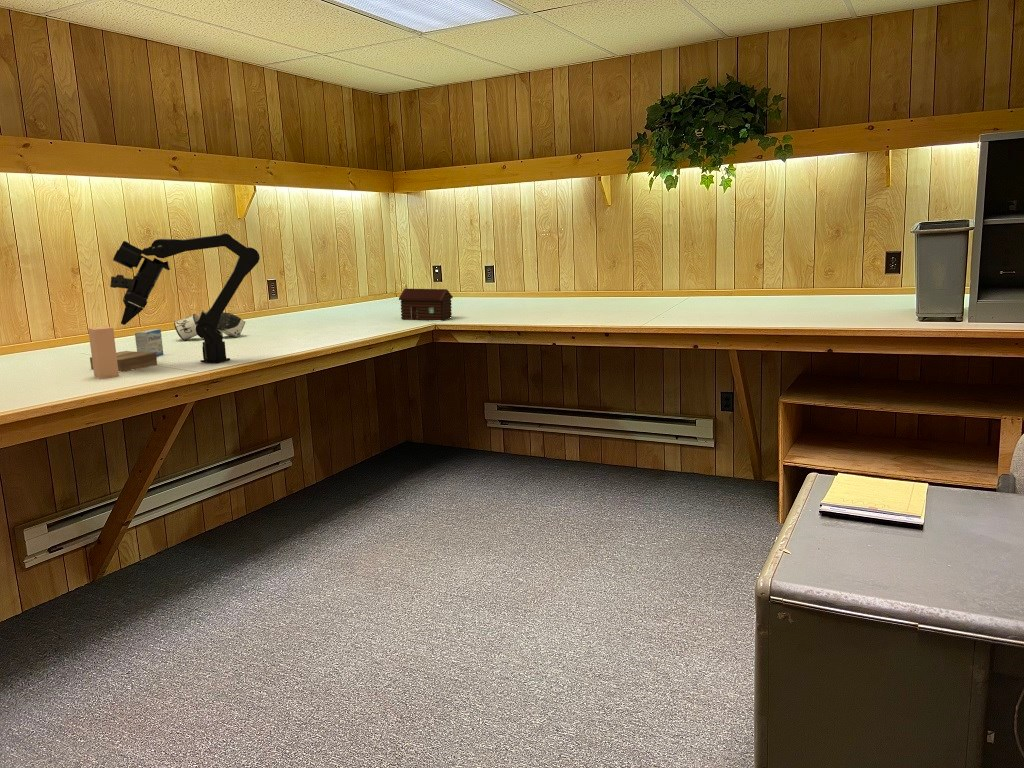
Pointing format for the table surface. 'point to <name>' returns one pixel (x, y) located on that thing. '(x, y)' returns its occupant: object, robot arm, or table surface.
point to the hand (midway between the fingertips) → (123, 322)
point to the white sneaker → (226, 325)
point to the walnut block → (133, 360)
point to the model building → (425, 304)
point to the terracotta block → (103, 352)
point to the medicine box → (149, 341)
